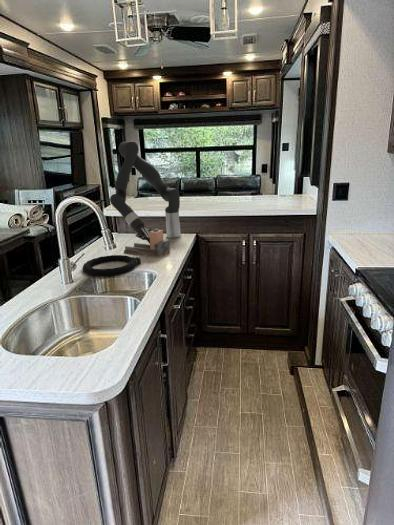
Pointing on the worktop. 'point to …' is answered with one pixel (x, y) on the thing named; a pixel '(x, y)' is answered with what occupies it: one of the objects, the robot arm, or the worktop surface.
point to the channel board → (145, 249)
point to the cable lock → (113, 271)
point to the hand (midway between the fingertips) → (152, 243)
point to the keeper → (155, 237)
